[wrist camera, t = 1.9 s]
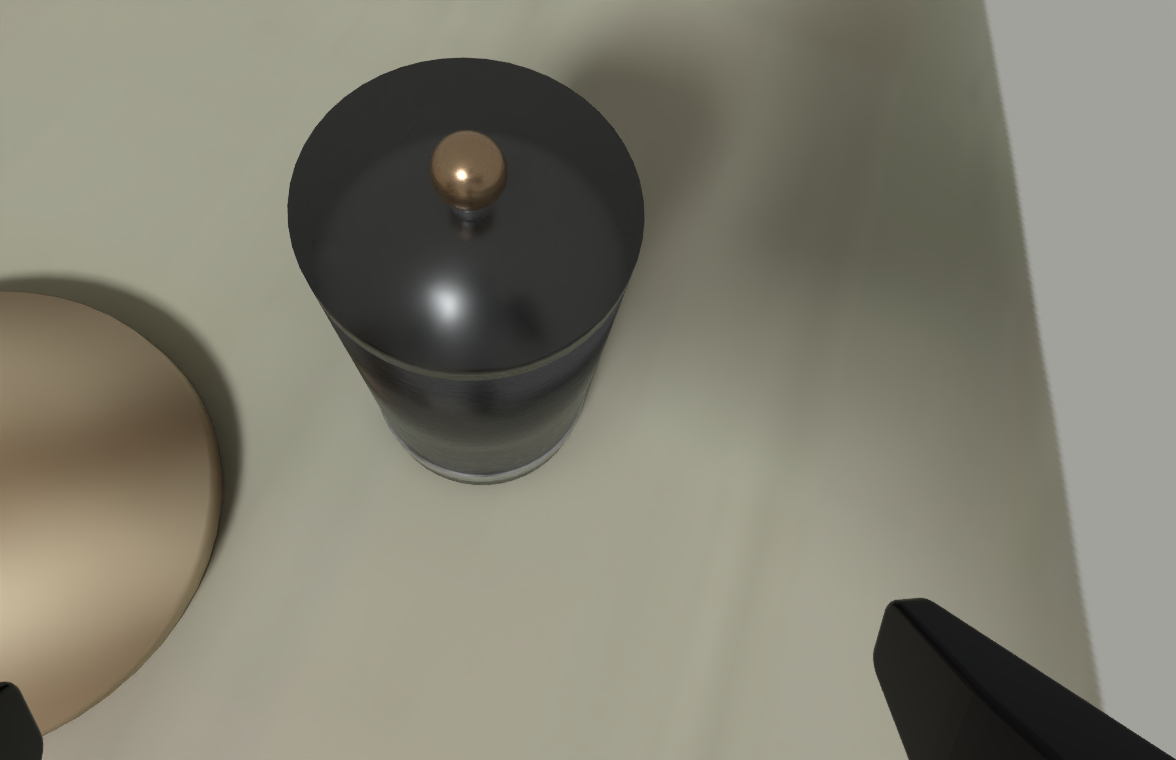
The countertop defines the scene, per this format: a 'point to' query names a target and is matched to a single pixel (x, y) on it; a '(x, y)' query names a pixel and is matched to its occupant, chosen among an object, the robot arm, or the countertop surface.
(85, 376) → the smooth tan round disc
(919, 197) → the countertop surface
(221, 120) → the countertop surface
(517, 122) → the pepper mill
